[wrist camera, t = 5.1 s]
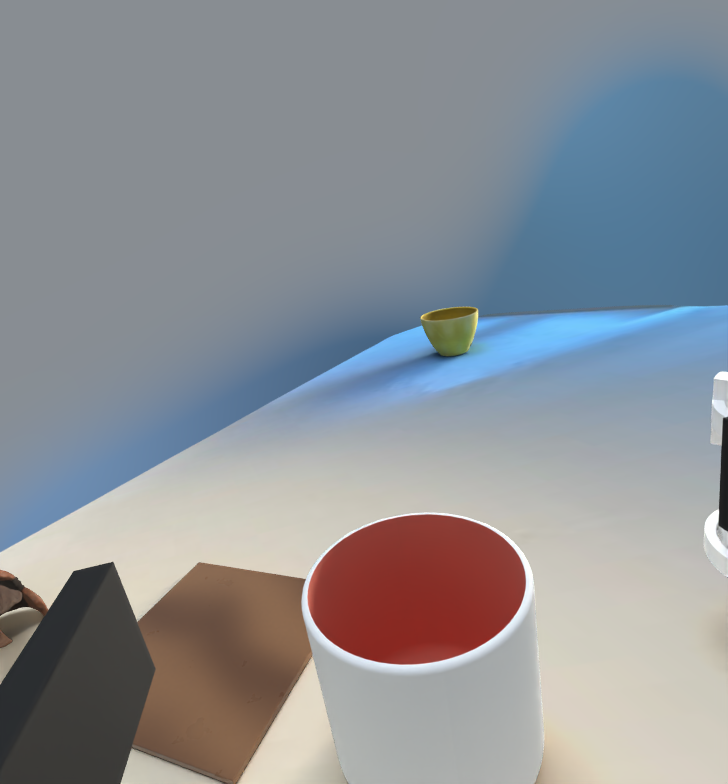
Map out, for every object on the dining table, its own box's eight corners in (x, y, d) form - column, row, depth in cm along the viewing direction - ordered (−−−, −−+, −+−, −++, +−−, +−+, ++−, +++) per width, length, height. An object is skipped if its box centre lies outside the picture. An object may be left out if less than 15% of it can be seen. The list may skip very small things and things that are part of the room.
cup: (335, 678, 30) (301, 533, 27) (500, 642, 30) (486, 496, 27) (349, 885, 20) (298, 699, 17) (587, 828, 21) (581, 637, 18)
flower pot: (423, 363, 88) (418, 322, 86) (426, 348, 98) (422, 311, 95) (483, 356, 86) (479, 315, 84) (480, 342, 95) (476, 304, 93)
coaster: (234, 786, 25) (232, 780, 25) (47, 715, 31) (45, 710, 31) (350, 590, 37) (349, 585, 37) (200, 566, 43) (199, 562, 43)
